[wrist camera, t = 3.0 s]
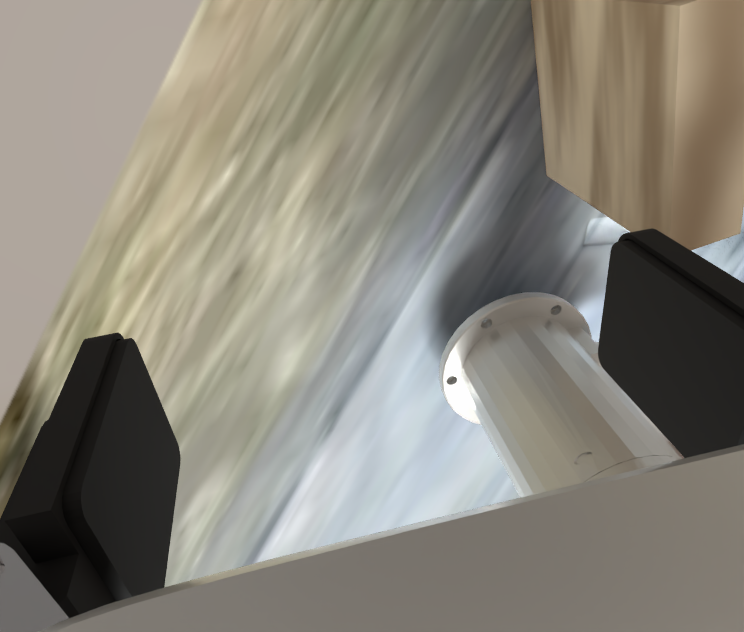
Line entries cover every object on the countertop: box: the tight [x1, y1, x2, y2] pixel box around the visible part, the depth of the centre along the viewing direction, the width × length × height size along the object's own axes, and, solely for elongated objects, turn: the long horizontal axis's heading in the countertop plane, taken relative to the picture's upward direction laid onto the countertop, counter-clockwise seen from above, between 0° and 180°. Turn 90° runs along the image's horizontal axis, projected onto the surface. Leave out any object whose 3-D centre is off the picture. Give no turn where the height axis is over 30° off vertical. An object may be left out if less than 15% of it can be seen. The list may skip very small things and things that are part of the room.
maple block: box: [531, 0, 744, 250], centre depth 32 cm, size 4×12×14 cm, turn 15°
